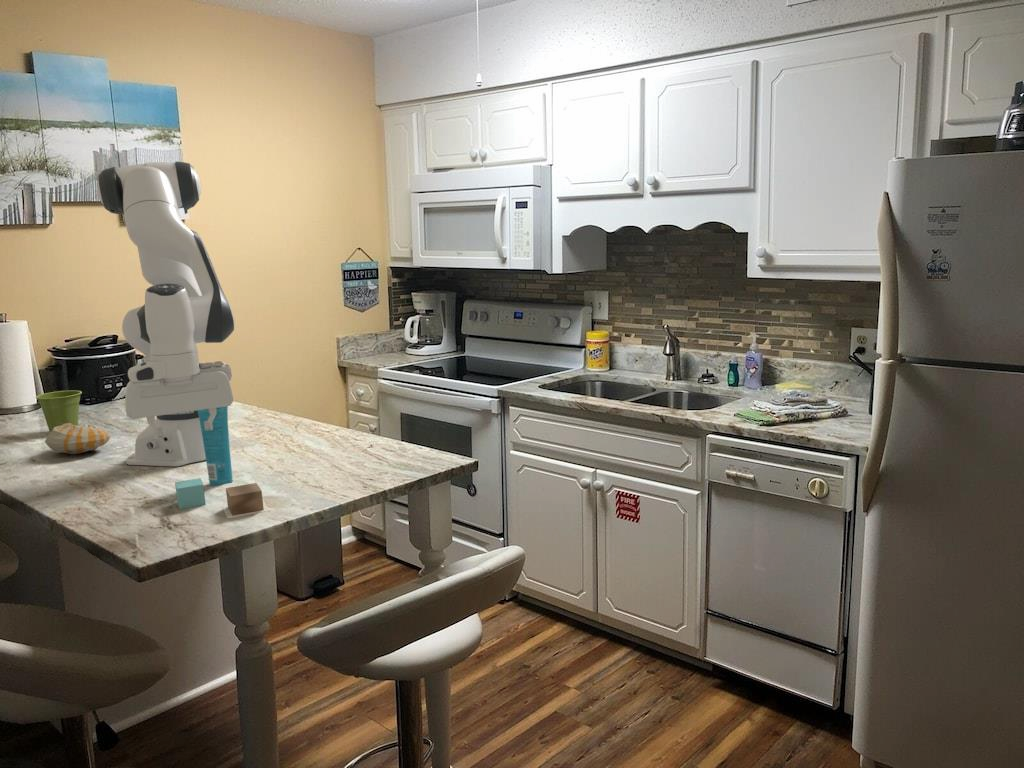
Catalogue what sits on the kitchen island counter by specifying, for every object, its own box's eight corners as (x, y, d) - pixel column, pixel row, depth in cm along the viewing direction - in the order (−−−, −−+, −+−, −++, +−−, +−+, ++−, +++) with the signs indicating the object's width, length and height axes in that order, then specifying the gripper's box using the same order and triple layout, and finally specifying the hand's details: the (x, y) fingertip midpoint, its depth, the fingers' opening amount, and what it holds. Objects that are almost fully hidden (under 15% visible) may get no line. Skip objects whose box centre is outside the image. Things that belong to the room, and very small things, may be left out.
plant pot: (81, 434, 239) (76, 396, 237) (36, 438, 236) (30, 399, 234) (91, 425, 250) (86, 388, 248) (48, 429, 248) (42, 392, 246)
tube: (241, 479, 189) (231, 396, 185) (233, 486, 184) (223, 401, 180) (208, 480, 189) (199, 397, 185) (200, 487, 184) (189, 402, 181)
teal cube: (180, 512, 169) (177, 488, 168) (177, 505, 173) (174, 482, 172) (206, 507, 171) (203, 484, 170) (203, 500, 175) (200, 478, 174)
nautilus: (43, 449, 226) (104, 442, 234) (47, 462, 208) (113, 454, 216) (40, 420, 225) (101, 414, 233) (44, 430, 207) (111, 423, 215)
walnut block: (232, 515, 163) (230, 496, 162) (227, 507, 168) (225, 488, 168) (263, 510, 166) (261, 490, 165) (258, 501, 171) (256, 482, 170)
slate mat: (199, 522, 162) (198, 519, 162) (224, 502, 174) (223, 499, 173) (269, 521, 161) (269, 518, 161) (289, 500, 173) (289, 497, 172)
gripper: (227, 358, 174) (235, 422, 176) (119, 370, 165) (129, 438, 168) (232, 362, 168) (239, 428, 171) (120, 374, 159) (131, 444, 162)
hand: (184, 433), depth 169 cm, fingers open, 8 cm apart
